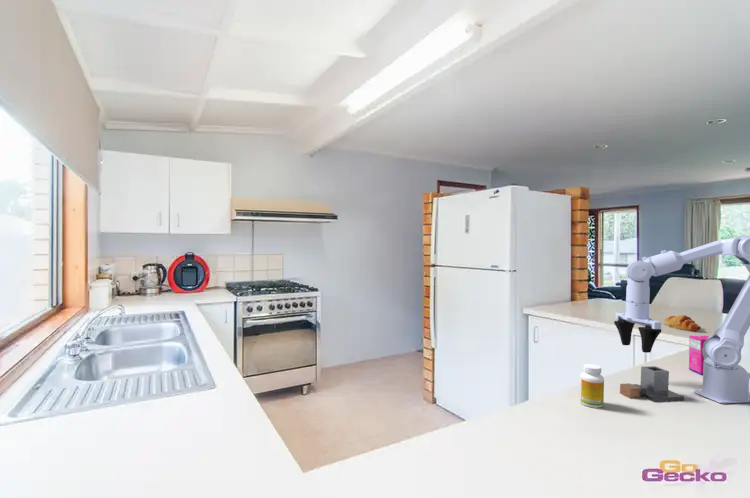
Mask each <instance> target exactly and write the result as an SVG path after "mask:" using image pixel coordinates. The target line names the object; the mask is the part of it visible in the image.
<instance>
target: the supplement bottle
mask: <svg viewBox="0 0 750 498" xmlns="http://www.w3.org/2000/svg"><path fill="white" fill-rule="evenodd" d="M582 370H583V372H581V373H580V375H579V397H578V398H579V400H578V401H579V403H580V404H582V405H583V406H586V407H589V408H594V409H599V408H600V409H601V408H603V406H604V398H605V397H604V394H605V393H604V392H605V390H604V389H605V378H604V376H603V375H602V367H601V365H597V364H594V363H584V364H583V369H582Z"/></svg>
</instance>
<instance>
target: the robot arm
mask: <svg viewBox="0 0 750 498" xmlns="http://www.w3.org/2000/svg"><path fill="white" fill-rule="evenodd" d="M718 255H725V256H733V257H735V258H736V259H738V260H739V261H740V262H741V263H743V265H744V267H745V268H746V269H747V271H748V273H749V275H748V276H747V278H746V280H745V282H744V284H743V286H742V288H741V289H740V291H739V293H738V295H737V296H736V298H735V300H734V302H733V304H732V306H731V307H730V310H729V311H728V313H727V315H726V317H725V319H723V322H722V323H721V326H719V327H718V328H717V329H716V330H715V332H714V333H713V334H712V335H711V336H709V337H710V338H708V339H707V340H706V341H705V342H704V344H703V349H704V351H705V353H706V354H707V355H708V356H707V357H706V359H704V364H703V375H702V389H700V390H693V393H694V394H697V395H699V396H702V397H705V398H707V399H710V400H712V401H714V402H716V403H719V404H739V403H740V404H742V403H750V399H749V392H750V376H749V373H748V372H747V370H746V368H744V367H743V366H741V365H739V364H740V363H741V360H742V349H743V348H744V345H745V336H746V335H747V332H748V330H749V329H750V235H739V236H737V237H730V238H724V239H718V240H714V241H712V242H709V243H706V244H703V245H700V246H697V247H694V248H690V249H687V250H684V251H682V252H677V251H674V250H668V251H667V250H666V249H664V250H661V251H660V253H659V254H655V255H652V256H648V257H647V256H643V257H641V260H634V261H632V262H630V263H629V264H628V265H627V267H626V269H625V273H626V275H627V276H628V277H627V279H626V283H627V285H626V289H625V291H626V292H625V293H626V294H625V295H626V296H625V313H624V312H615V319H616V320H614V321H613V323H614V325H615V327H616V328H617V331H618V333H619V338H620V342H621V345H622V346H630V345H631V341H632V333H633V329H634V327H635V324H636V325H640V326H638V327H637V329H638V331H639V334H640V339H641V351H642V353H651V352H652V348H653V346H654V344H655V342H656V340H657V338H658V337H659V335H660V334H661V333H662V322H661V321H659V320H655V319H653V318H650V317H649V316H650V300H651V299H650V298H651V297H650V296H651V295H650V294H651V293H650V292H651V291H650V290H651V288H650V279H651V277H660V276H663V275H666V274H670V273H673V272H674V273H675V272H676V271H680V270H682V268H683V265H685V264H687V263H691V262H694V261H695V262H696V261H699V260H703V259H706V258H711V257H714V256H718Z"/></svg>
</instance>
